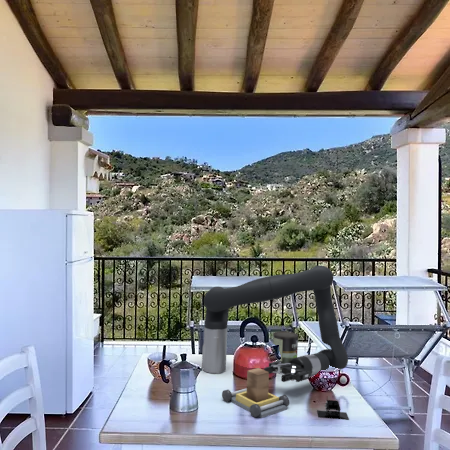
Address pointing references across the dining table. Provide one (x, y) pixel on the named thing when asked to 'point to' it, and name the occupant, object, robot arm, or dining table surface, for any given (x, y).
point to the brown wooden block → (257, 384)
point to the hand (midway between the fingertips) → (273, 374)
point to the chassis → (259, 408)
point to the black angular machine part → (332, 414)
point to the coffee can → (286, 345)
